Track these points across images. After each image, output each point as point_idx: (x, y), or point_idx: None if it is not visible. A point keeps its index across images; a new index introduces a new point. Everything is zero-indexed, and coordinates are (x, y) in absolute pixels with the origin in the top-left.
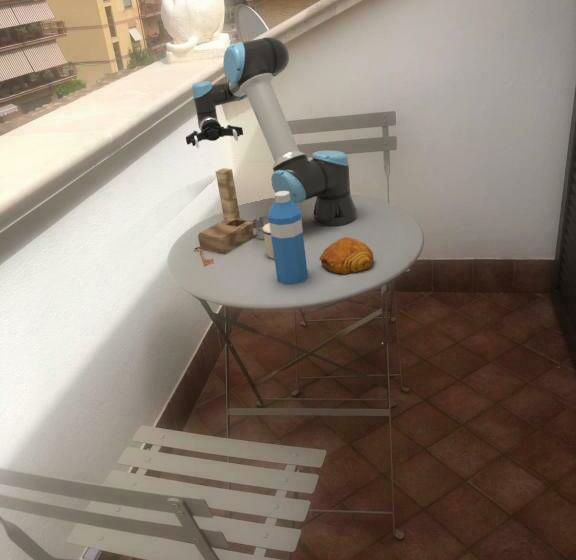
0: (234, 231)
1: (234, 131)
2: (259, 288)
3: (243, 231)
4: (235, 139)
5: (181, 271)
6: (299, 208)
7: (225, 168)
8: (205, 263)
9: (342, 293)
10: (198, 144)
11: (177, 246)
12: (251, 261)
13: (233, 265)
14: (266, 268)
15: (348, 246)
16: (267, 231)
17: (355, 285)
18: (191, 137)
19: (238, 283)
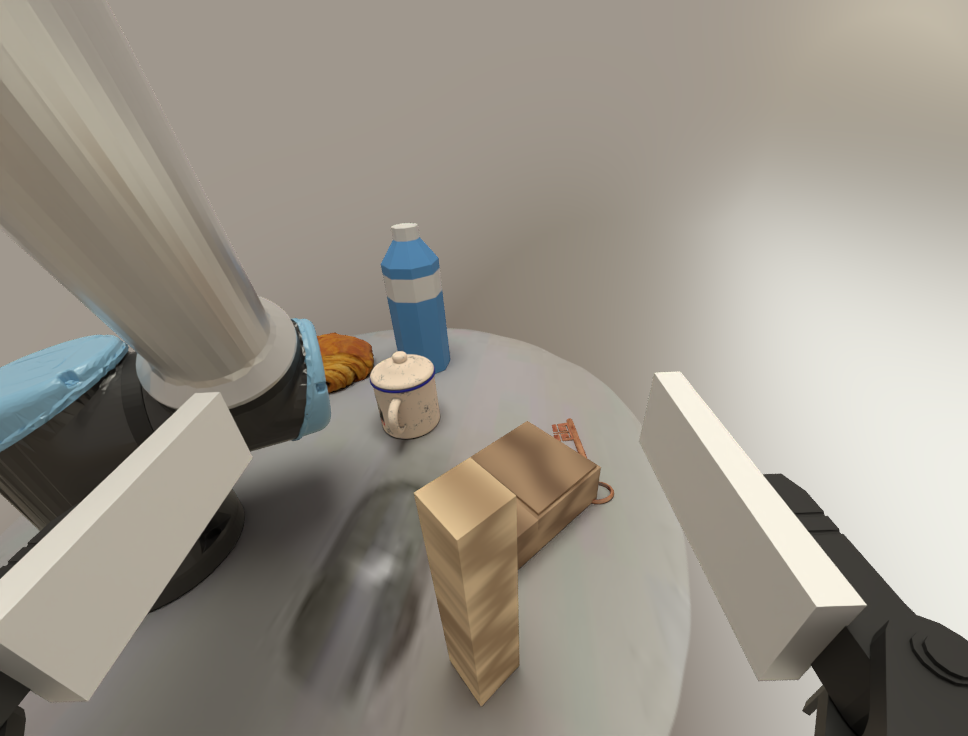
0: (492, 443)
1: (150, 455)
2: (479, 353)
3: None
4: (226, 488)
5: (619, 416)
6: (382, 261)
7: (446, 525)
8: (569, 423)
9: (388, 331)
10: (645, 418)
11: (682, 540)
12: (474, 411)
13: (511, 408)
14: (454, 387)
15: (331, 334)
16: (428, 359)
17: (365, 338)
18: (936, 631)
19: (507, 367)
